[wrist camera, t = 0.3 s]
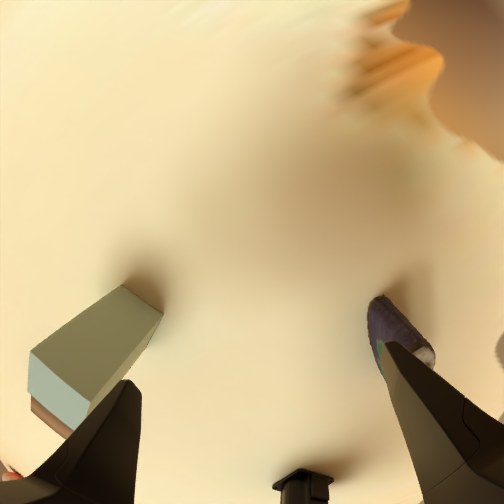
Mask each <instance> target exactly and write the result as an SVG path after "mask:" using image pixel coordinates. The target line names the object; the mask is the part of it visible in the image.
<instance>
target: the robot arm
mask: <svg viewBox="0 0 504 504" xmlns="http://www.w3.org/2000/svg"><path fill="white" fill-rule="evenodd" d="M381 362H382V366H383V370H384V374H385V378H386V382H387V386H388V390H389V394H390V398H391V401H392V404H393V407H394V410H395V413H396V415H397V418H398V421H399V424H400V426H401V429H402V432H403V435H404V438H405V441H406V444H407V446H408V449H409V452H410V456H411V459H412V462H413V465H414V468H415V471H416V474H417V478H418V481H419V484H420V488H421V491H422V494H423V499H424V502H425V504H504V424H502V423H500V422H499V421H497V420H496V419H494V418H493V417H491V416H490V415H488V414H487V413H485V412H484V411H482V410H481V409H480V408H479V407H477V406H476V405H475V404H474V403H472V402H471V401H470V400H469V399H468V398H465V396H464V395H463V394H461V393H460V392H459V391H458V390H457V389H455V388H454V387H453V386H452V385H451V384H449V383H448V382H447V381H446V380H444V379H443V378H442V377H441V376H440V375H438V374H437V373H436V372H435V371H433V370H432V369H431V368H430V367H429V366H427V365H426V364H425V363H424V362H422V361H421V360H420V359H419V358H417V357H416V356H415V355H414V354H412V353H411V352H410V351H409V350H408V349H406V348H405V347H404V346H403V345H401V344H400V343H399V342H398V341H396V340H391V341H387V342H384V344H383V348H382V355H381ZM141 408H142V395H141V392H140V390H139V389H138V388H137V387H136V386H135V384H134V383H133V382H132V381H131V380H120V381H119V382H118V383H117V384H116V385H115V386H114V387H113V388H112V390H111V391H110V392H109V393H108V394H107V395H106V396H105V397H104V398H103V399H102V401H101V402H100V403H99V404H98V405H97V406H96V407H95V408H94V409H93V411H92V412H91V413H90V414H89V415H88V416H87V417H86V418H85V419H84V420H83V422H82V423H81V424H80V425H79V426H78V427H77V428H76V429H75V431H74V432H73V433H72V434H71V435H70V436H69V437H68V438H67V440H65V442H64V443H63V444H62V445H61V446H60V447H59V448H58V449H57V450H56V451H55V452H54V453H53V454H52V455H51V456H50V457H49V458H48V459H47V460H46V461H45V462H44V463H43V464H42V465H41V466H40V467H39V468H37V469H36V470H35V471H34V472H33V473H32V474H31V475H29V476H27V477H25V478H22V479H16V480H9V481H1V482H0V504H134V495H135V482H136V470H137V460H138V451H139V442H140V434H141ZM333 482H334V478H331V477H327V476H323V475H320V474H316V473H313V472H309V471H306V470H303V469H298V470H296V471H295V472H293V473H292V474H290V475H289V476H287V477H286V478H284V479H282V480H281V481H279V482H278V483H276V484H274V485H273V486H272V489H274V490H277V491H281V501H280V504H328V500H329V489H328V485H330V484H331V483H333Z"/></svg>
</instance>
